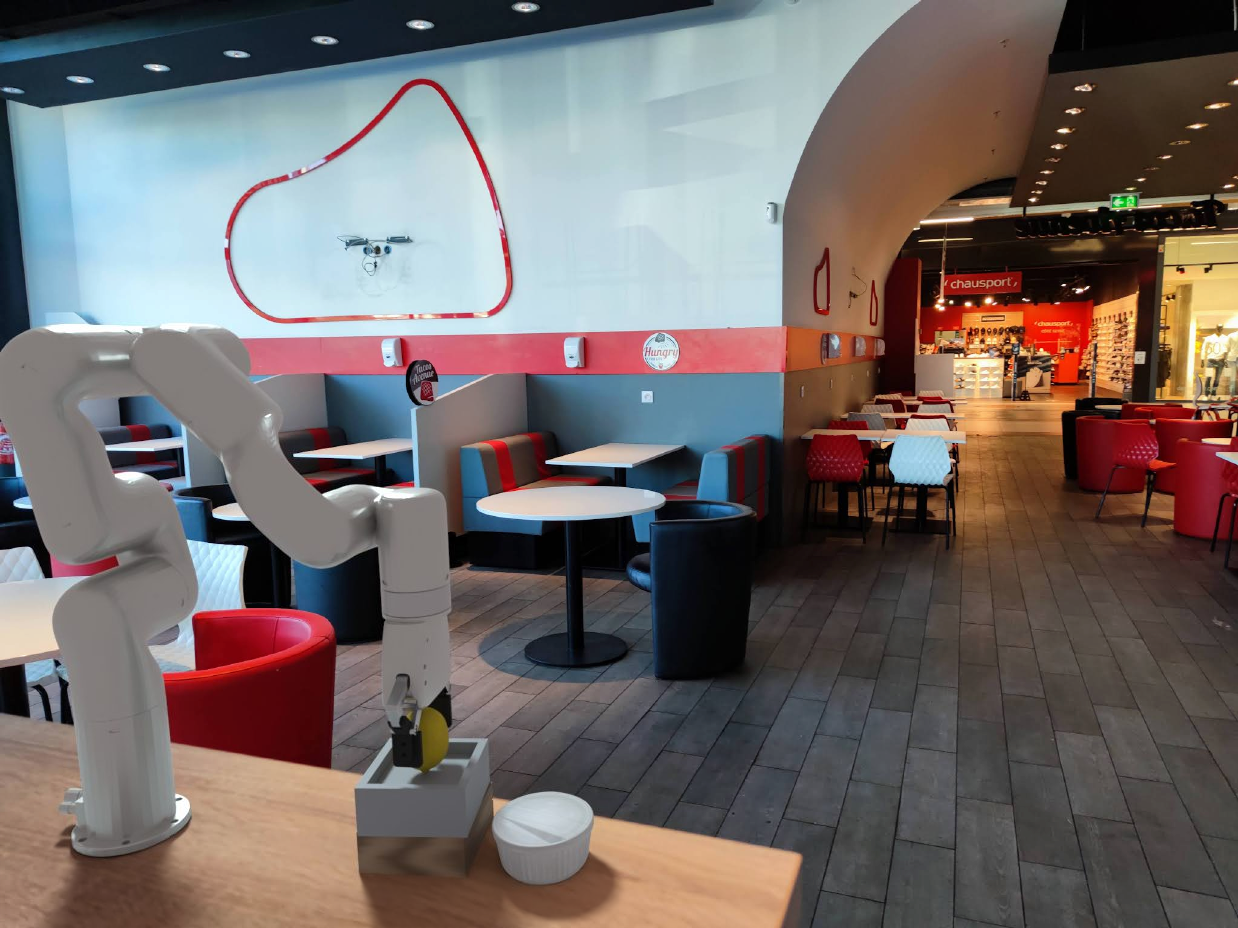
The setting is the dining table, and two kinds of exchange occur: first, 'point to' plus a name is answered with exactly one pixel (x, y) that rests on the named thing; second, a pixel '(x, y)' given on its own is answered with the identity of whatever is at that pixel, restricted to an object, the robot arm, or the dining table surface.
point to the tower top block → (424, 793)
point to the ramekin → (543, 836)
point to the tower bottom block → (426, 849)
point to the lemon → (432, 738)
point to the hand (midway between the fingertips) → (424, 745)
